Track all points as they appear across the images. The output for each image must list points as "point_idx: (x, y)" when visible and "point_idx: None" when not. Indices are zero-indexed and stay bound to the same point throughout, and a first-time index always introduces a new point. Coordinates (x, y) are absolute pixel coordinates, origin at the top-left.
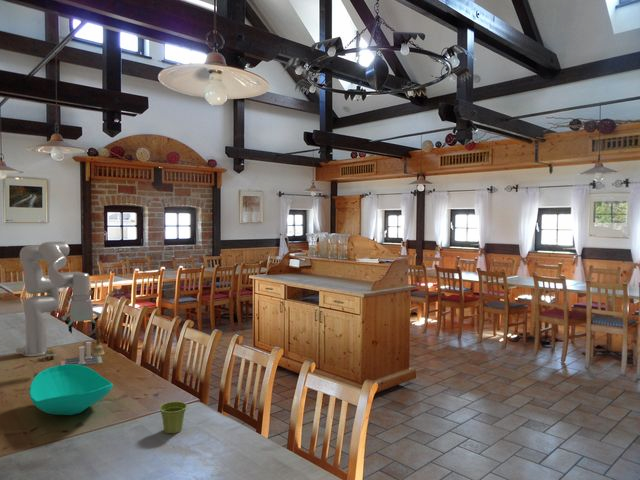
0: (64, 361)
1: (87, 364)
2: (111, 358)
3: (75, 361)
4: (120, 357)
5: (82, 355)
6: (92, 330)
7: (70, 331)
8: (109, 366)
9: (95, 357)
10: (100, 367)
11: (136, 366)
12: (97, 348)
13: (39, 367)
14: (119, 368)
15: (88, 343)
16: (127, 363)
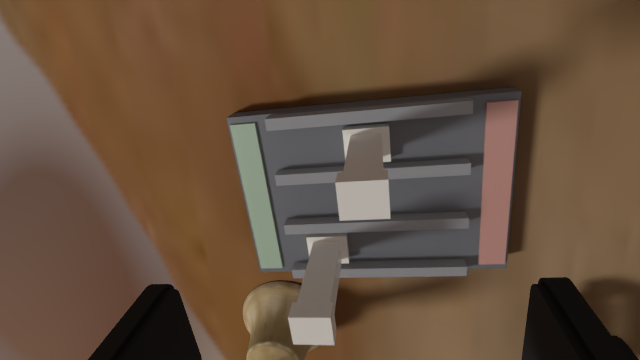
0: (481, 246)
1: (327, 111)
2: (208, 249)
3: (411, 215)
4: (161, 248)
5: (359, 154)
6: (164, 291)
7: (583, 302)
8: (191, 87)
9: (291, 260)
10: (246, 86)
11: (13, 17)
12: (276, 340)
13: (635, 239)
14: (115, 10)
15: (312, 313)
16: (91, 112)
